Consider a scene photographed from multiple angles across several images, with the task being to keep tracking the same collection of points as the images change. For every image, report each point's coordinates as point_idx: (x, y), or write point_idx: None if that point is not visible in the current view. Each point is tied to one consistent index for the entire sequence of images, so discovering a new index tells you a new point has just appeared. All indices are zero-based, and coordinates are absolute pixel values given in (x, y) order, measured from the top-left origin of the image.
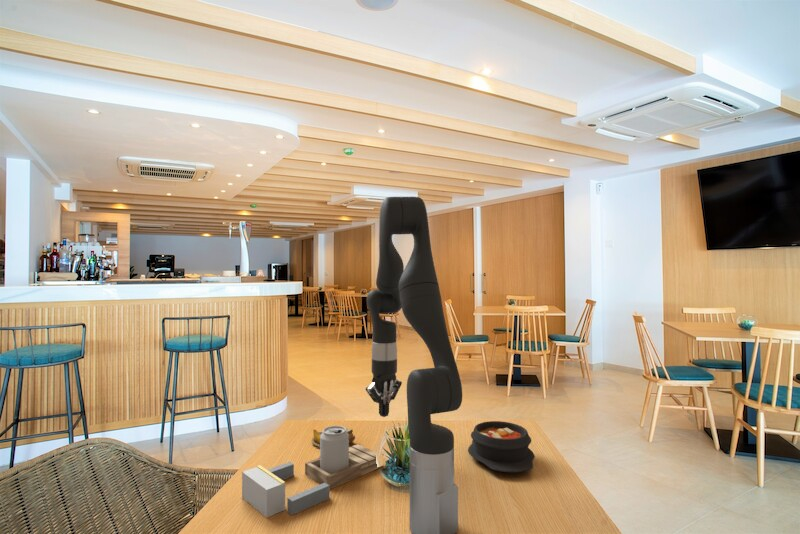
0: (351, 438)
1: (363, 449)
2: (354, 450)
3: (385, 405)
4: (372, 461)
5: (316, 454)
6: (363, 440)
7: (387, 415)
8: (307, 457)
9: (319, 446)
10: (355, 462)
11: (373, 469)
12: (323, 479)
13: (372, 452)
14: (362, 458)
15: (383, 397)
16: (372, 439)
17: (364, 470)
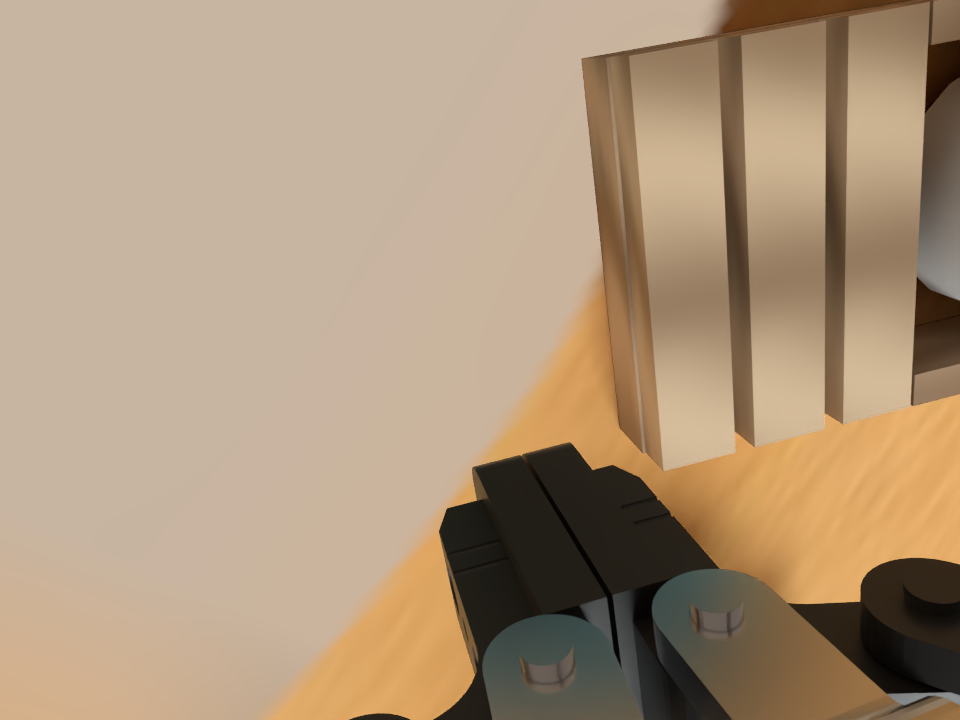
0: None
1: (697, 323)
2: (776, 348)
3: (640, 567)
4: (771, 29)
5: (861, 576)
6: (415, 668)
7: (490, 464)
8: (932, 557)
9: None
10: (917, 102)
11: (713, 35)
12: None
13: (673, 199)
14: (821, 140)
15: (881, 711)
16: (328, 657)
17: (836, 14)
